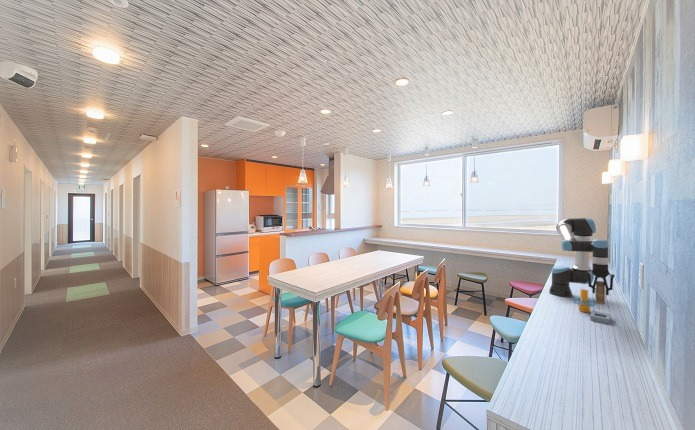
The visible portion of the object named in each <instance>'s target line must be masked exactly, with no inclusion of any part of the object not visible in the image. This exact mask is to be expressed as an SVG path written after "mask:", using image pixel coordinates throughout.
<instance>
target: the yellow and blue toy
mask: <svg viewBox="0 0 695 430" xmlns="http://www.w3.org/2000/svg"><path fill="white" fill-rule="evenodd" d="M579 291H580V296H578V297H574V298H573V299H572V302H573V303H575V305H576V304H577V305H578V310H579V312H583V313H591V311H590V310H591V307H592V306H593V307H594V306H596V304H597V303H596V300H595V299H589V290H588V289H586V288H585V289H584V288H580V290H579ZM575 300H577V302H576V301H575ZM591 301H592V302H593V303H592V302H591Z"/></svg>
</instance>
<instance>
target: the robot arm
mask: <svg viewBox="0 0 695 430" xmlns="http://www.w3.org/2000/svg"><path fill="white" fill-rule="evenodd" d="M555 230H556V232H557V233H558V234H559V235H560V237H561V239H562V240H561V242H560V244H561V245H560V246H561V250H562V251H564V252H565V251H566V252H575V253H574V265H572V268H570V267H569V266H566V265H558V266H557V265H556V266H553V267H552V268H551V285H550V287H549V291H548V293H549V294H551V295H553V294H554V296H557V297H568V298H569V297H572V296H573V292H572V288H571V287H570V284H571V283H573V284H583V285H588V287H589V288H591V289H592V294H594V300H596V282H597V281H598V279H602V282H604V284H605V290H604V300H605V302H606V301H607V296H609V294H610V293H609V291H613V289H614V288H613V287H614V285H613V284H614V277H615V274H614V273H613V274H612V273H611V272H609V246H610V245H609V241H608V240H607V239H599V238H598V239H592V240H590V239H591V237H593V234H596V232H597V230H596V224H595V221H594V219H592V218H586V217H585V218H583V217H581V218H577V217H576V218H565V219H562V220H560V221H558V223H556V227H555ZM590 253H592V267H590ZM608 276H609V278H610V279H609V282H610V283H609V285H608V282H607V277H608ZM592 283H593V284H592Z"/></svg>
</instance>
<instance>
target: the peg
mask: <svg viewBox="0 0 695 430" xmlns="http://www.w3.org/2000/svg"><path fill="white" fill-rule="evenodd" d="M595 288H596V299H595V302H596V304H599V305H605V304H606V303H605V302H606V301H605V300H604V290H606V288H605V284H604V281H603V280H602V281H601V280H597V282H596V286H595Z"/></svg>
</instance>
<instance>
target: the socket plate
mask: <svg viewBox="0 0 695 430" xmlns="http://www.w3.org/2000/svg"><path fill="white" fill-rule="evenodd" d="M590 321H592V322H597V323H601V324H606V323H608V324H607V325H610V324H611V313H607V312H601V311H596V310H591V312H590Z"/></svg>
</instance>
